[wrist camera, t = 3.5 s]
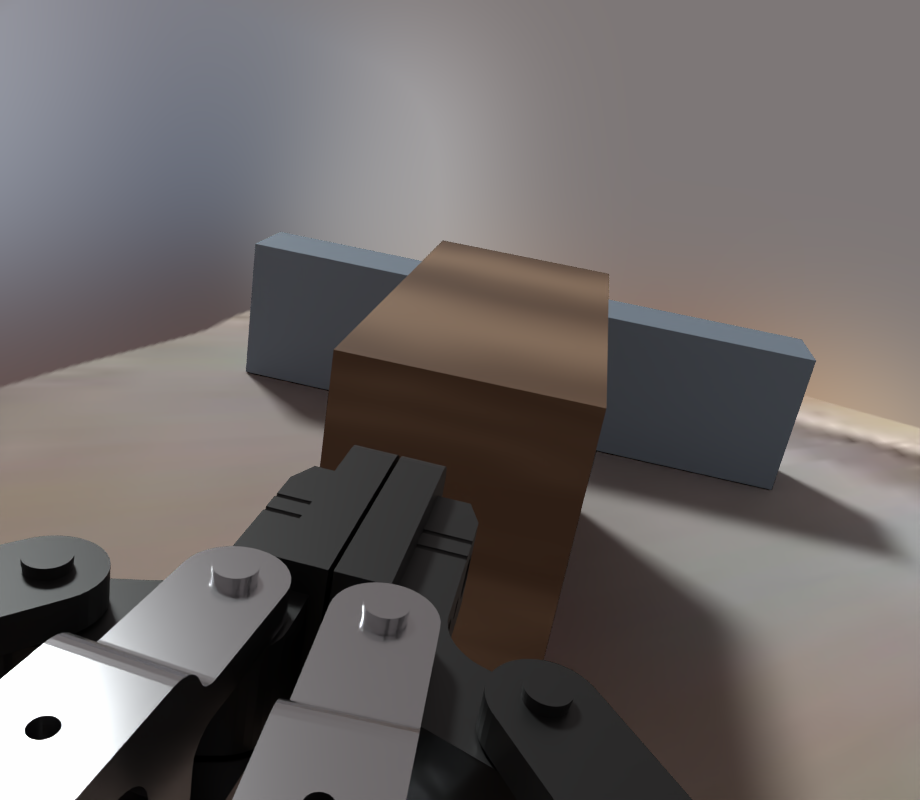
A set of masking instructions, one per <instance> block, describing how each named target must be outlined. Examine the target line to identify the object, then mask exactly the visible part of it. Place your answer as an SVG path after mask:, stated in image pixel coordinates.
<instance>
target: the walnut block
mask: <svg viewBox="0 0 920 800" xmlns="http://www.w3.org/2000/svg"><path fill="white" fill-rule="evenodd" d="M608 305H609V274H607V273H602V272H597V271H592V270H587V269H582V268H577V267H572V266H567V265H562V264H557V263H552V262H547V261H542V260H537V259H532V258H527V257H522V256H517V255H512V254H507V253H502V252H497V251H492V250H487V249H482V248H478V247H472V246H467V245H463V244H457V243H452V242H448V241H442V242H441V243H440V244H439V245H438V246H437V247H436V248H435V249H434V250H433V251H432V252H431V253H430V254H429V255H428V256H427V257H426V258H425V259H424V260H423V261H422V262H421V263H420V264H419V265H418V266H417V267H416V268H415V269H414V270H413V271H412V272H411V273H410V274H409V275H408V276H407V277H406V278H405V279H404V280H403V281H402V282H401V283H400V284H399V285H398V286H397V287H396V288H395V289H394V290H393V291H392V292H391V293H390V294H389V295H388V296H387V297H386V298H385V299H384V300H383V301H382V302H381V303H380V304H379V305H378V306H377V307H376V308H375V309H374V310H373V311H372V312H371V313H370V314H369V315H368V316H367V317H366V318H365V319H364V320H363V321H362V322H361V323H360V324H359V325H358V326H357V327H356V328H355V329H354V330H353V331H352V332H351V333H350V334H349V335H348V336H347V337H346V338H345V339H344V340H343V341H342V342H341V343H340V344H339V345H338V346H337V347H336V348H335V349H334V350H333V358H332V367H331V376H330V385H329V393H328V402H327V411H326V420H325V428H324V437H323V446H322V454H321V463H320V467H321V468H325V469H329V470H333V471H335V470H336V468H337V467H338V466H339V464H340V463H341V462H342V460H343V459H344V458H345V456H346V455H347V453H348V452H349V451H350V449H351V448H352V447H353V446H354V445H358V446H362V447H366V448H371V449H375V450H379V451H383V452H387V453H391V454H396V455H399V456H400V458H401V456H405V457H409V458H413V459H417V460H421V461H425V462H430V463H434V464H438V465H442V466H446V468H447V470H446V479H445V484H444V490H443V495H442V497H445V498H449V499H453V500H457V501H461V502H465V503H469V504H471V506H472V508H473V511H474V513H475V516H476V518H477V520H478V528H477V533H476V537H475V542H474V547H473V552H472V556H471V561H470V566H469V570H468V575H467V580H466V585H465V589H464V594H463V599H462V604H461V607H460V610H459V613H458V617H457V620H456V623H455V626H454V630H453V633H452V636H451V638H452V640H453V642H454V643H455V645H456V646H457V647H458V648H459V650H460V651H461V652H463V653H464V654H465V655H466V656H467V657H468V658H470V659H471V660H472V661H473V662H475V663H477V664H479V665H480V666H482V667H484V668H486V669H487V670H489V671H491V672H492V671H493V670H494V669H496V668H497V667H498V666H500V665H502V664H504V663H506V662H510V661H513V660H519V659H538V660H544V656H545V652H546V648H547V644H548V640H549V636H550V632H551V628H552V624H553V620H554V616H555V612H556V608H557V604H558V600H559V596H560V592H561V588H562V584H563V580H564V576H565V572H566V568H567V564H568V560H569V556H570V552H571V548H572V544H573V540H574V536H575V532H576V528H577V524H578V520H579V516H580V512H581V508H582V504H583V500H584V496H585V492H586V488H587V484H588V480H589V476H590V472H591V468H592V464H593V460H594V456H595V452H596V448H597V444H598V440H599V436H600V432H601V428H602V424H603V420H604V416H605V412H606V408H607V357H608Z"/></svg>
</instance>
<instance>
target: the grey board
mask: <svg viewBox="0 0 920 800" xmlns="http://www.w3.org/2000/svg"><path fill="white" fill-rule="evenodd" d="M421 262H422V261H419V260H414V259H409V258H404V257H400V256H395V255H390V254H385V253H380V252H375V251H371V250H366V249H361V248H356V247H351V246H346V245H342V244H336V243H332V242H327V241H322V240H317V239H312V238H307V237H302V236H298V235H293V234H288V233H283V232H280V233H278V234H275V235H273V236H271V237H269V238H267V239H265V240H263V241H261V242H258V243H256V244H255V258H254V270H253V285H252V298H251V310H250V324H249V337H248V351H247V364H246V372H250V373H255V374H259V375H264V376H268V377H273V378H277V379H281V380H286V381H290V382H295V383H299V384H304V385H308V386H313V387H317V388H321V389H326V390H329V385H330V376H331V367H332V358H333V350H334V349H335V348H336V347H337V346H338V345H339V344H340V343H341V342H342V341H343V340H344V339H345V338H346V337H347V336H348V335H349V334H350V333H351V332H352V331H353V330H354V329H355V328H356V327H357V326H358V325H359V324H360V323H361V322H362V321H363V320H364V319H365V318H366V317H367V316H368V315H369V314H370V313H371V312H372V311H373V310H374V309H375V308H376V307H377V306H378V305H379V304H380V303H381V302H382V301H383V300H384V299H385V298H386V297H387V296H388V295H389V294H390V293H391V292H392V291H393V290H394V289H395V288H396V287H397V286H398V285H399V284H400V283H401V282H402V281H403V280H404V279H405V278H406V277H407V276H408V275H409V274H410V273H411V272H412V271H413V270H414V269H415V268H416V267H417V266H418V265H419V264H420V263H421ZM815 362H816V360H815V358H814V357H813V356H812V354H811V353H810V351H809V350H808V348H807V347H806V345H805V344H804V342H803V341H802V340H801V339H797V338H791V337H787V336H782V335H777V334H772V333H767V332H762V331H758V330H753V329H748V328H742V327H738V326H734V325H729V324H724V323H719V322H714V321H709V320H704V319H700V318H695V317H690V316H685V315H680V314H675V313H671V312H666V311H661V310H656V309H651V308H646V307H642V306H637V305H632V304H627V303H622V302H617V301H612V300H609V305H608V357H607V408H606V412H605V416H604V420H603V424H602V428H601V432H600V436H599V440H598V444H597V448H596V450H597V451H601V452H606V453H610V454H615V455H619V456H624V457H628V458H633V459H637V460H641V461H646V462H650V463H655V464H659V465H664V466H668V467H673V468H677V469H681V470H686V471H690V472H695V473H699V474H704V475H708V476H713V477H717V478H721V479H726V480H730V481H735V482H739V483H744V484H748V485H753V486H757V487H761V488H766V489H770V490H772V487H773V484H774V481H775V478H776V475H777V473H778V470H779V467H780V464H781V461H782V458H783V455H784V452H785V449H786V446H787V444H788V441H789V438H790V435H791V432H792V429H793V426H794V423H795V420H796V417H797V414H798V412H799V409H800V406H801V403H802V400H803V397H804V394H805V391H806V388H807V385H808V382H809V380H810V377H811V374H812V371H813V368H814V365H815Z"/></svg>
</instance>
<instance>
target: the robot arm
mask: <svg viewBox="0 0 920 800" xmlns="http://www.w3.org/2000/svg"><path fill="white" fill-rule="evenodd" d="M446 470H447V468H446V466H442V465H438V464H434V463H430V462H425V461H421V460H417V459H413V458H409V457H405V456H401V458H400V456H399V455H396V454H391V453H387V452H383V451H379V450H375V449H371V448H366V447H362V446H358V445H354V446H353V447H352V448H351V449H350V451H349V452H348V453H347V455H346V456H345V458H344V459H343V460H342V462H341V463H340V464H339V466H338V467H337V468H336V470H335V471H333V470H329V469H325V468H321V467H317V466H314V467H312V468H310V469H307V470H305V471H303V472H301V473H298V474H296V475H294V476H292V477H290V478H289V480H288V481H287V482H286V483H285V484H284V486H283V487H282V488H281V489H280V490H279V492H278V493H277V496H274V497H273V499H272V500H271V501H270V502H269V503H268V505H267V506H266V509H265V510H263V511H262V512H261V513H260V514H259V515H258V517H257V518H256V519H255V520H254V521H253V523H252V524H251V525H250V526H249V527H248V529H247V530H246V531H245V532H244V533H243V534H242V536H241V537H240V538H239V539H238V540H237V542H236V543H235V544H234V545H233V546H225V547H217V548H212V549H208V550H204V551H202V552H199V553H197V554H195V555H193V556H191V557H190V558H188V559H187V560H186V561H184V562H183V563H182V564H181V565H180V566H179V567H178V568H177V569H176V570H175V571H174V572H173V573H171V574H170V575H169V576H168V577H167V578H166V579H165V580H132V579H110V559H109V556H108V555H107V553H106V552H105V551H104V550H103V549H102V548H101V547H99V546H98V545H96V544H94V543H92V542H90V541H87V540H84V539H81V538H76V537H70V536H41V537H34V538H29V539H24V540H20V541H15V542H11V543H6V544H2V545H0V800H692V799H691V798H690V797H689V795H688V794H687V793H686V792H685V791H684V790H683V789H682V787H681V786H680V785H679V784H678V783H677V782H676V781H675V779H674V778H673V777H672V776H671V775H670V774H669V773H668V771H667V770H666V769H665V768H664V767H663V766H662V764H661V763H660V762H659V761H658V760H657V759H656V758H655V756H654V755H653V754H652V753H651V752H650V751H649V750H648V748H647V747H646V746H645V745H644V744H643V743H642V742H641V740H640V739H639V738H638V737H637V736H636V735H635V734H634V732H633V731H632V730H631V729H630V728H629V727H628V726H627V724H626V723H625V722H624V721H623V720H622V719H621V718H620V716H619V715H618V714H617V713H616V712H615V711H614V710H613V708H612V707H611V706H610V705H609V704H608V703H607V702H606V700H605V699H604V698H603V697H602V696H601V695H600V694H599V692H598V691H597V690H596V689H595V688H594V687H593V686H592V685H591V684H590V683H589V682H588V681H587V680H586V679H584V678H583V677H582V676H580V675H579V674H577V673H576V672H574V671H572V670H570V669H568V668H566V667H564V666H562V665H559V664H556V663H553V662H549V661H544V660H538V659H519V660H513V661H510V662H506V663H504V664H502V665H500V666H498V667H497V668H496V669H494V670H493V671H492V672H491V671H489V670H487V669H486V668H484V667H482V666H480V665H479V664H477V663H475V662H473V661H472V660H471V659H470V658H468V657H467V656H466V655H465V654H464V653H463V652H461V651H460V650H459V648H458V647H457V646H456V645H455V643H454V642H453V640H452V638H451V636H452V633H453V630H454V626H455V623H456V620H457V617H458V613H459V610H460V607H461V604H462V599H463V594H464V589H465V585H466V580H467V575H468V570H469V566H470V561H471V556H472V552H473V547H474V542H475V537H476V533H477V528H478V520H477V518H476V516H475V513H474V511H473V508H472V506H471V504H469V503H465V502H461V501H457V500H453V499H449V498H445V497H442V495H443V490H444V484H445V479H446Z"/></svg>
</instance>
